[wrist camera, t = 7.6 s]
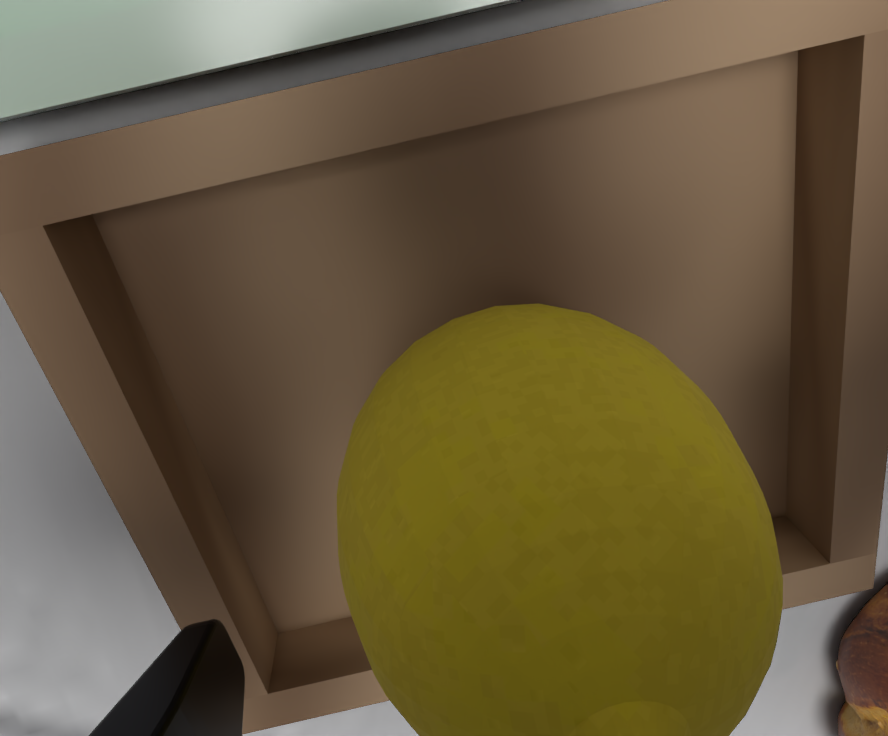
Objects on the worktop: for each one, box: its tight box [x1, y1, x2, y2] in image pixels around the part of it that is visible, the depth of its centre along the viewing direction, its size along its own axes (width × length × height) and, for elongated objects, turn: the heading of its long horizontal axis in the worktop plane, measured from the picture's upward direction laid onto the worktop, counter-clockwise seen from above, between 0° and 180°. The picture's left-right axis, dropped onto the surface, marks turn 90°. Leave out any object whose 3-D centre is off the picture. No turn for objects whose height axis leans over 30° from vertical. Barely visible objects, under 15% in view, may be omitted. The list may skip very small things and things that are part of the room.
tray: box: [0, 0, 888, 734], centre depth 13 cm, size 14×12×3 cm
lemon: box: [337, 303, 783, 736], centre depth 9 cm, size 6×6×8 cm
